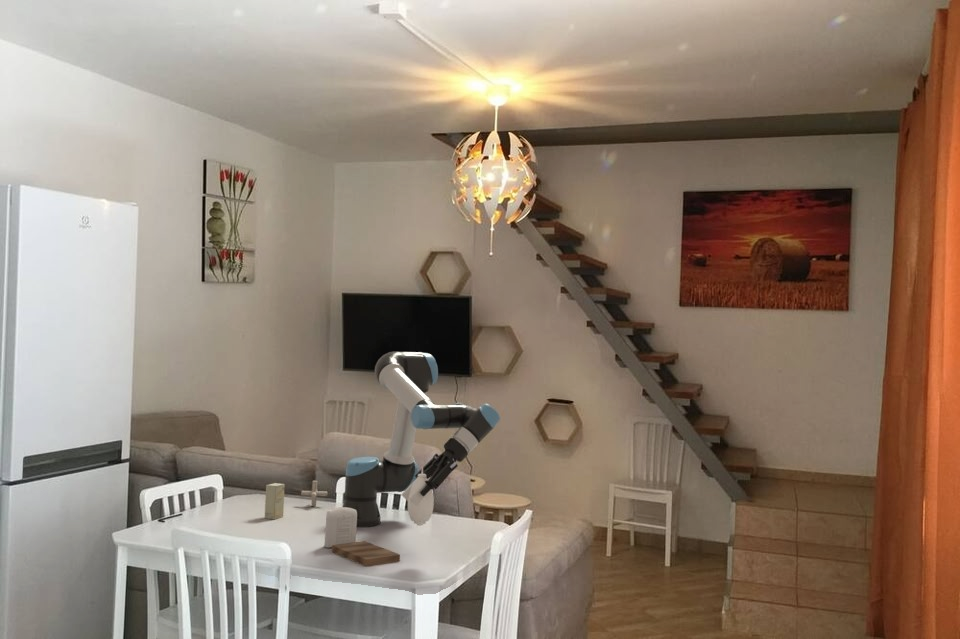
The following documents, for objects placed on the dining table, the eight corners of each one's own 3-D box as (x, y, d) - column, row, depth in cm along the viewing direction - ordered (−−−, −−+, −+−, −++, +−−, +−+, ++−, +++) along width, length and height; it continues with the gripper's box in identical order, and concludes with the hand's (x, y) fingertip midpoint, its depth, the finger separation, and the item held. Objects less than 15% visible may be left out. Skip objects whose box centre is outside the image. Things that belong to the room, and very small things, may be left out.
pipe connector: (302, 503, 339) (303, 478, 340) (327, 504, 340) (328, 479, 341) (299, 508, 329) (300, 482, 330) (325, 509, 330) (326, 483, 331)
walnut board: (331, 551, 265) (331, 545, 265) (364, 547, 273) (364, 540, 273) (366, 566, 250) (366, 559, 250) (399, 561, 257) (400, 554, 257)
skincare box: (274, 519, 307) (276, 486, 308) (263, 518, 309) (265, 484, 309) (283, 516, 313) (285, 483, 314) (273, 515, 315) (275, 482, 315)
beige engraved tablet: (352, 543, 277) (354, 505, 277) (357, 546, 273) (359, 507, 274) (322, 545, 272) (324, 507, 272) (326, 549, 268) (328, 509, 269)
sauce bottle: (412, 520, 263) (415, 462, 263) (436, 523, 261) (439, 465, 261) (402, 525, 256) (405, 466, 256) (427, 528, 253) (430, 468, 254)
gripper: (480, 458, 256) (428, 515, 249) (455, 449, 274) (404, 502, 266) (465, 440, 254) (412, 497, 247) (440, 432, 271) (389, 485, 264)
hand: (408, 499), depth 256 cm, fingers closed on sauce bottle, 6 cm apart
